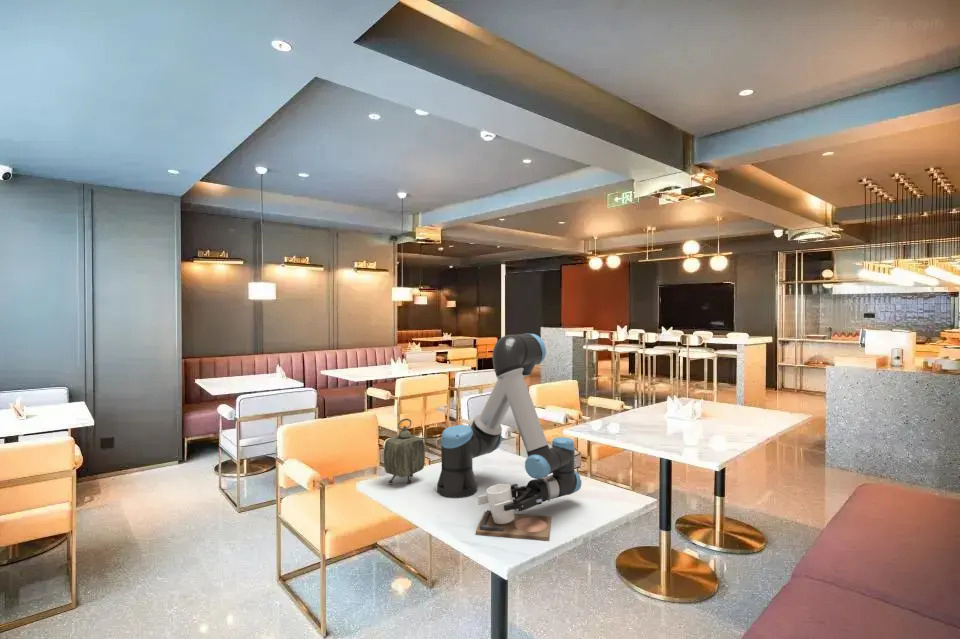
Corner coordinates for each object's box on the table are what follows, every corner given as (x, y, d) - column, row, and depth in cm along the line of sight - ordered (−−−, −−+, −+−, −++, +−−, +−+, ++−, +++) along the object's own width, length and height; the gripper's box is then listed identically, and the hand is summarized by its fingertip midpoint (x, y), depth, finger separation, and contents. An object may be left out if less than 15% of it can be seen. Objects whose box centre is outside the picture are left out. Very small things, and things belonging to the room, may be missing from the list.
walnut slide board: (475, 534, 151) (475, 528, 151) (484, 514, 166) (484, 508, 166) (549, 540, 147) (549, 534, 147) (551, 519, 162) (551, 513, 162)
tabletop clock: (411, 474, 205) (411, 414, 204) (427, 479, 199) (426, 417, 199) (383, 484, 194) (383, 420, 193) (399, 490, 188) (398, 424, 187)
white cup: (514, 524, 153) (508, 492, 153) (489, 526, 154) (483, 494, 154) (517, 512, 161) (512, 482, 160) (494, 515, 162) (488, 485, 162)
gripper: (563, 511, 159) (506, 529, 146) (522, 491, 176) (468, 506, 163) (563, 487, 159) (506, 503, 146) (522, 470, 176) (468, 483, 163)
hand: (486, 505), depth 154 cm, fingers closed on white cup, 8 cm apart
